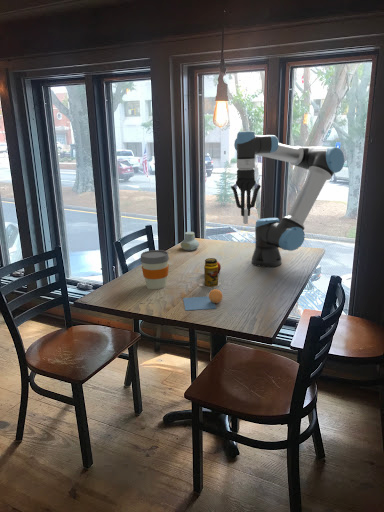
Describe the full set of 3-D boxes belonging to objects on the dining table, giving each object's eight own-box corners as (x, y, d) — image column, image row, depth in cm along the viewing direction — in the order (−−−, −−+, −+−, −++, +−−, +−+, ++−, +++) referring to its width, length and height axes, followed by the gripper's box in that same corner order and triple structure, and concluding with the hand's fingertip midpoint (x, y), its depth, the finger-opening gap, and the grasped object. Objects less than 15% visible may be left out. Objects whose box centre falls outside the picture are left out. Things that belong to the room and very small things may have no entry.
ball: (210, 301, 164) (223, 297, 164) (211, 306, 159) (225, 302, 158) (206, 289, 162) (219, 285, 162) (207, 294, 157) (220, 290, 157)
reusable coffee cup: (137, 285, 182) (134, 253, 178) (159, 278, 190) (157, 248, 185) (152, 293, 173) (150, 259, 169) (175, 285, 181) (174, 253, 176)
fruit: (223, 274, 188) (214, 260, 186) (209, 282, 190) (200, 268, 189) (225, 269, 195) (217, 255, 194) (212, 276, 198) (203, 263, 197)
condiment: (214, 288, 175) (214, 262, 172) (197, 285, 179) (197, 260, 176) (221, 283, 181) (221, 258, 178) (205, 280, 185) (204, 255, 182)
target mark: (211, 296, 167) (211, 296, 167) (216, 308, 156) (216, 308, 155) (183, 298, 166) (183, 298, 166) (185, 310, 155) (185, 310, 155)
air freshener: (178, 249, 236) (177, 233, 233) (186, 246, 243) (186, 230, 240) (193, 252, 230) (193, 235, 227) (201, 248, 236) (201, 232, 234)
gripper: (232, 170, 167) (232, 225, 174) (263, 169, 168) (262, 224, 175) (229, 168, 174) (229, 222, 181) (258, 167, 175) (257, 220, 182)
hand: (245, 223), depth 178 cm, fingers closed
